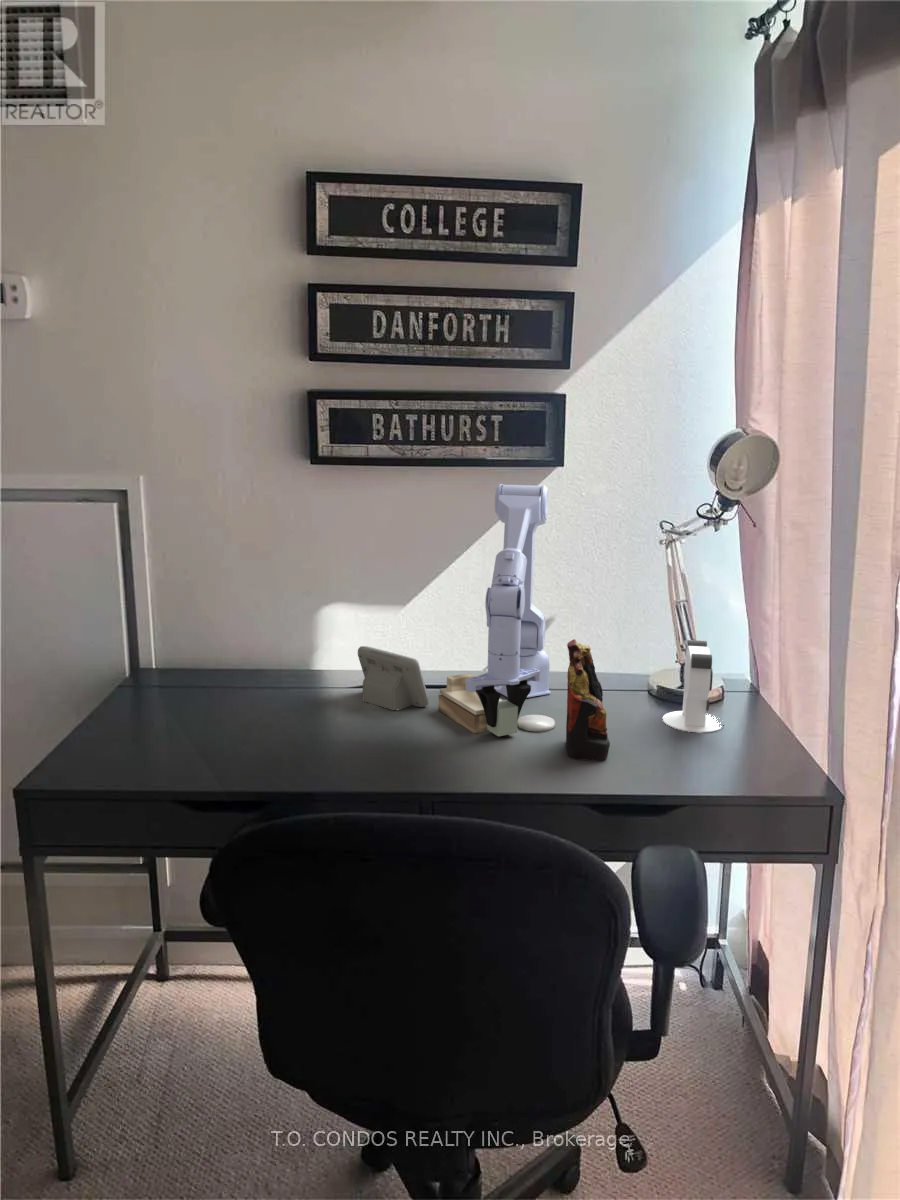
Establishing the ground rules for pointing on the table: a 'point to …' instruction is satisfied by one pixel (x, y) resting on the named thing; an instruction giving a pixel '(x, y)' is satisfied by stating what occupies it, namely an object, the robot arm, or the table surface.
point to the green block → (505, 719)
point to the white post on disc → (695, 692)
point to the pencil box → (462, 715)
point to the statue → (584, 707)
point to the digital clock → (391, 679)
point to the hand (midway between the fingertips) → (502, 723)
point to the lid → (463, 694)
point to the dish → (536, 723)
